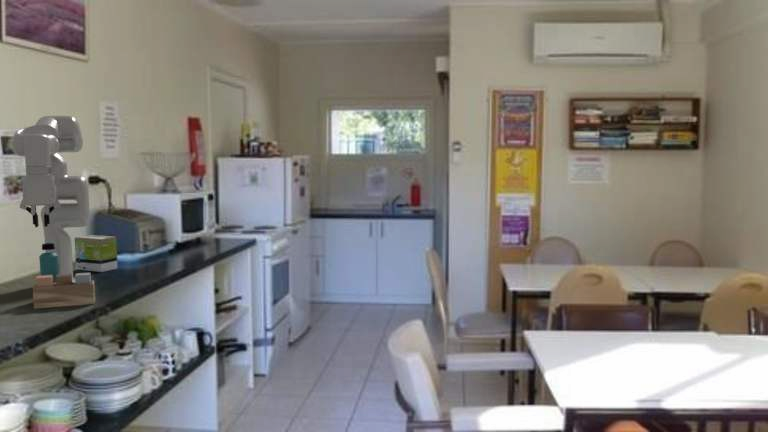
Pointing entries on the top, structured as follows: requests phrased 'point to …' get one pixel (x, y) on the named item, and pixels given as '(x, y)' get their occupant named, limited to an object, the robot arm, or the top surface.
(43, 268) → the beverage bottle
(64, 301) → the wooden compartment box
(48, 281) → the salmon pink cube
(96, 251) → the tea box
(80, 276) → the grey cube
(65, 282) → the brown cube
